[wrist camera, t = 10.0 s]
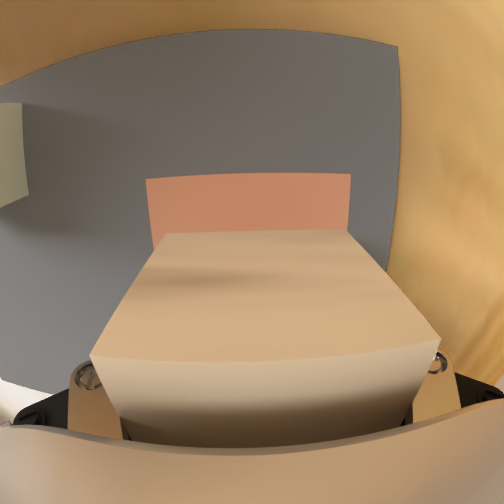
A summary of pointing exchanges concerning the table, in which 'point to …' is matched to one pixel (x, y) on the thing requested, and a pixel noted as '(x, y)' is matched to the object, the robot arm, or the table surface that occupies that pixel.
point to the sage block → (12, 154)
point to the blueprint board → (184, 169)
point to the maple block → (262, 342)
